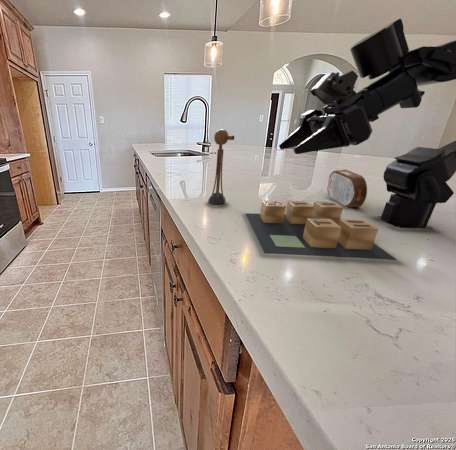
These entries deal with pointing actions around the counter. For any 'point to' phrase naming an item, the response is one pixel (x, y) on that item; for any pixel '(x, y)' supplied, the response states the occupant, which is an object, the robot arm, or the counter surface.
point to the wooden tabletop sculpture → (219, 167)
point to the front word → (340, 233)
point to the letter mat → (302, 241)
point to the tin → (347, 188)
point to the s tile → (272, 211)
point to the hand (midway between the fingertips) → (286, 149)
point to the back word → (312, 211)
